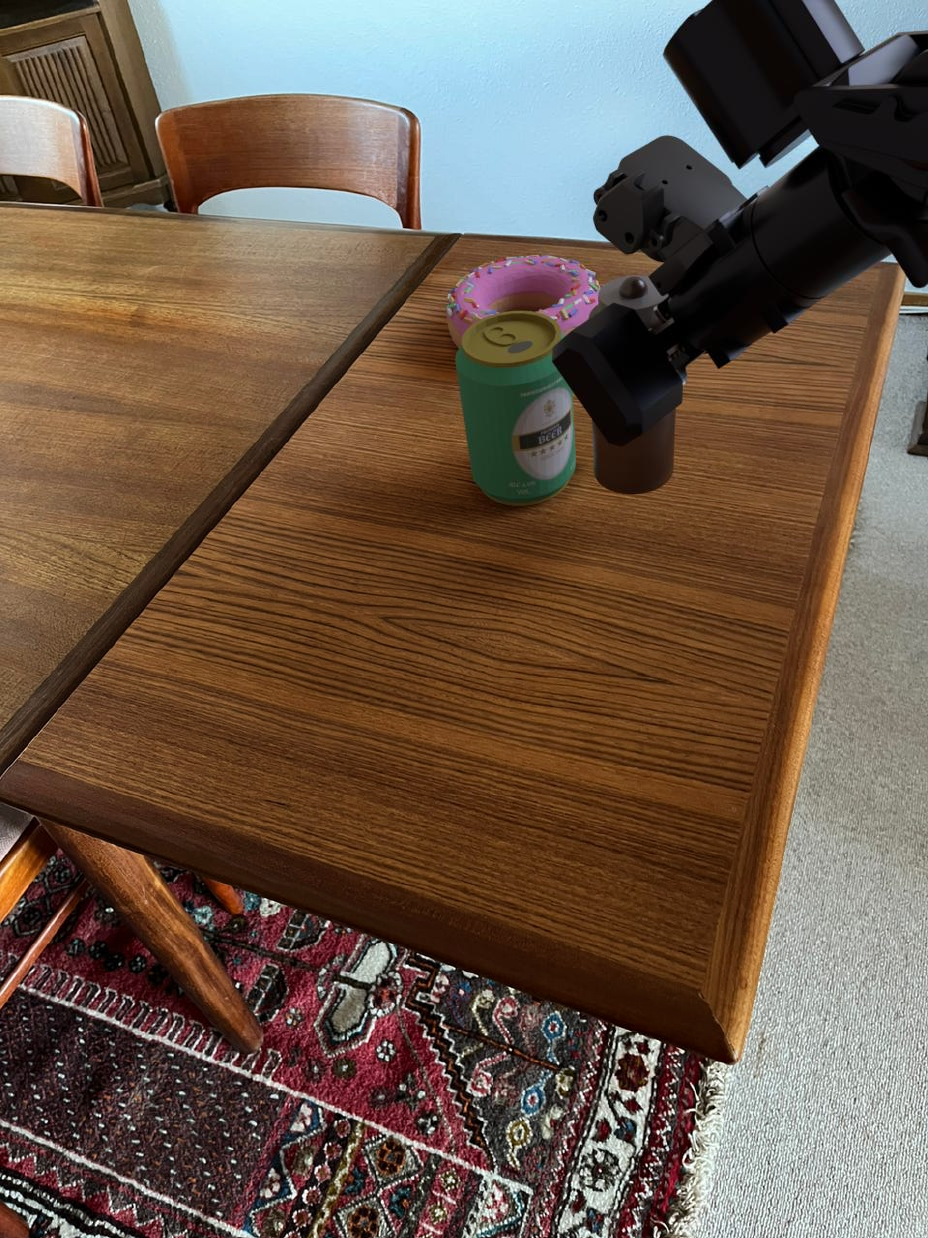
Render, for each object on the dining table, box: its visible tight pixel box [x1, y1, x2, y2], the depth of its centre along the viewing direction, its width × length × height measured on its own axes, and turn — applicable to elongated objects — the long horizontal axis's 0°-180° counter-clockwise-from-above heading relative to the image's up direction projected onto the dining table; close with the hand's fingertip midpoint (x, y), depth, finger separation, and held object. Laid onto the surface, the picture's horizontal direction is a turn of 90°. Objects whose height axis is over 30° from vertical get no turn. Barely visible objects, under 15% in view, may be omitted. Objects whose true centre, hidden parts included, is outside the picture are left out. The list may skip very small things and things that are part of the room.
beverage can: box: [454, 311, 577, 507], centre depth 68 cm, size 8×8×12 cm
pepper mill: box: [588, 274, 678, 496], centre depth 57 cm, size 5×5×14 cm
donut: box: [445, 254, 602, 349], centre depth 85 cm, size 14×14×5 cm
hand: (615, 377), depth 58 cm, fingers closed on pepper mill, 5 cm apart
